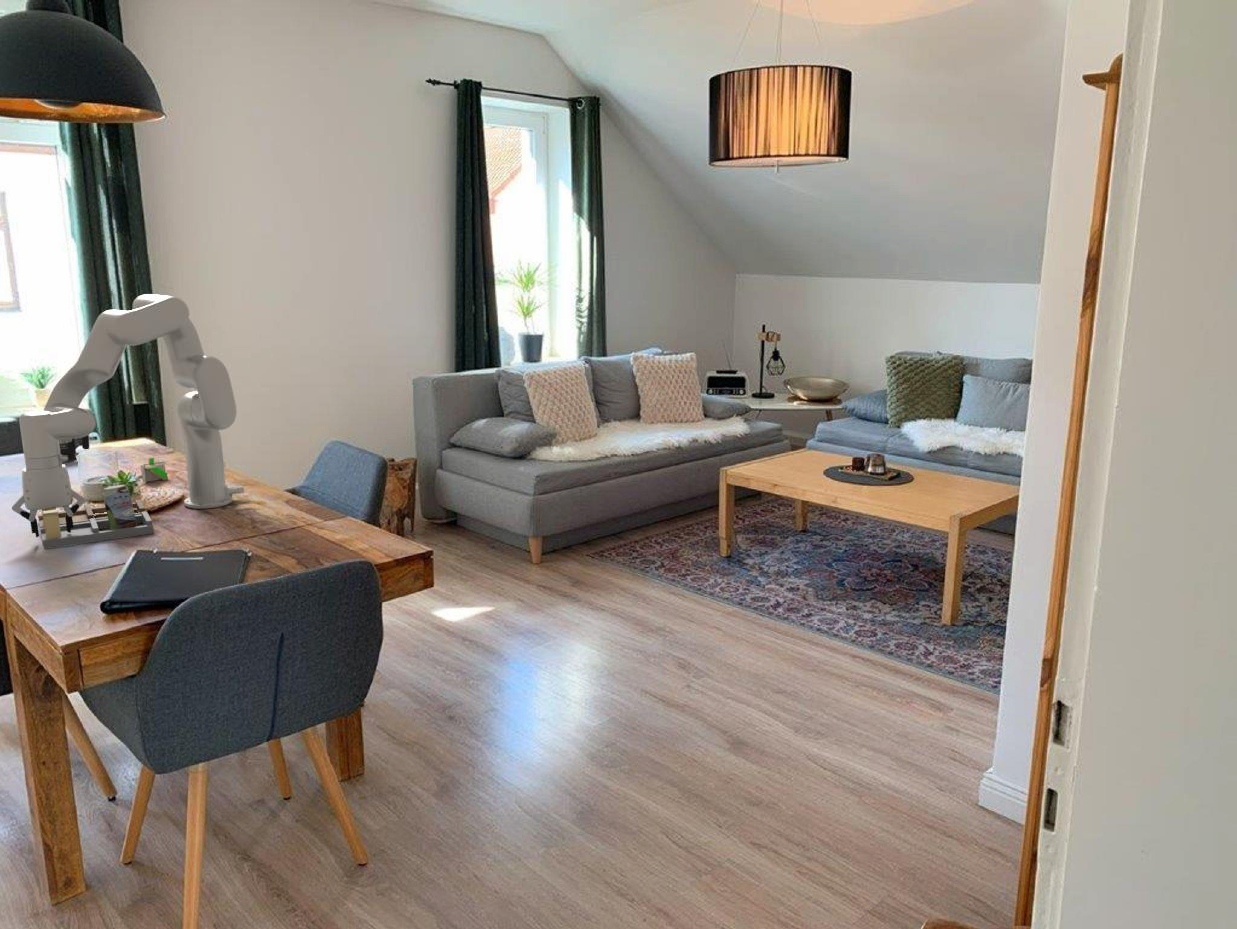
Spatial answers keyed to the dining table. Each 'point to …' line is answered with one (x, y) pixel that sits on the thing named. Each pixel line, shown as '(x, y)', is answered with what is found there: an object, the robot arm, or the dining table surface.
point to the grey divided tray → (87, 530)
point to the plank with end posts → (87, 514)
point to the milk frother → (72, 447)
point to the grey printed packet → (119, 507)
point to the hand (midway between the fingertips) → (53, 532)
